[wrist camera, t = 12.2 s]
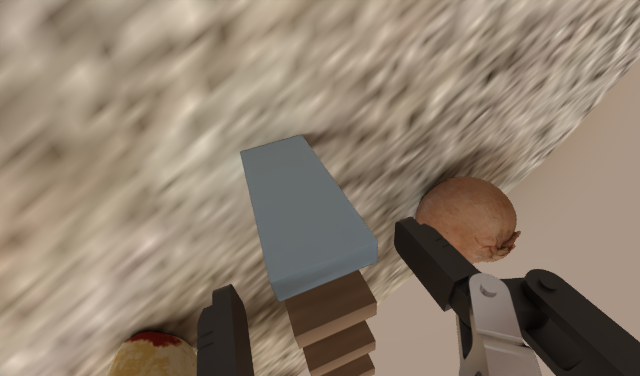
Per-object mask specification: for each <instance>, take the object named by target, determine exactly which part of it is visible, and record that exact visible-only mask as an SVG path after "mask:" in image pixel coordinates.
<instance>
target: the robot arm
mask: <svg viewBox="0 0 640 376" xmlns="http://www.w3.org/2000/svg"><path fill="white" fill-rule="evenodd" d="M394 245H395V248H396V250H397V252H398V254H399V255H400V256H401V257H402V259H403V260H404V261H405V263H406V264H407V265H408V266H409V268H410V269H411V270H412V272H413V273H414V274H415V275H416V277H417V278H418V279H419V280H420V282H421V283H422V284H423V286H424V287H425V288H426V289H427V291H428V292H429V293H430V294H431V296H432V297H433V298H434V300H435V301H436V302H437V303H438V305H439V306H440V307H441V309H442V310H443V311H444V312H445V311H447V310H449V309H451V308H452V309H453V310H454V311H455V313H456V325H457V335H458V344H459V354H460V369H459V376H542V374H541V371H540V368H539V364H538V361H537V358H536V355H535V353H536V354H537V355H538V356H539V357H540V358H541V359H542V360H543V362H544V363H545V364H546V365H547V366H548V367H549V368H550V369H551V371H552V372H553V373H554V374H555V375H556V376H640V342H639V341H638V340H636V339H635V338H634V337H633V336H632V335H630V334H629V333H628V332H627V331H625V330H624V329H623V328H622V327H621V326H619V325H618V324H617V323H615V322H614V321H613V320H612V319H611V318H609V317H608V316H607V315H606V314H604V313H603V312H602V311H601V310H600V309H598V308H597V307H596V306H595V305H593V304H592V303H591V302H590V301H589V300H587V299H586V298H585V297H584V296H583V295H581V294H580V293H579V292H578V291H576V290H575V289H574V288H573V287H572V286H570V285H569V284H568V283H567V282H565V281H564V280H563V279H562V278H560V277H559V276H557V275H556V274H554V273H552V272H549V271H546V270H542V269H533V270H530V271H529V272H528V273H527V274H526V276H525V277H524V278H512V279H498V278H497V277H495V276H493V275H489V274H486V273H482V272H480V271H478V269H476V268H475V267H474V266H473V265H472V264H471V263H470V262H469V261H468V260H467V259H466V258H465V257H464V256H463V255H462V254H461V253H460V252H459V251H458V250H457V249H456V248H455V247H454V246H453V245H451V244H450V243H449V242H448V241H447V240H446V239H444V237H443V236H442V235H441V234H440V233H439V232H438V231H437V230H436V229H435V228H433V227H431V226H429V225H427V224H425V223H424V224H421V225H420V224H419V223H418V222H417V221H416V220H415V219H414V218H413V217H408V218H405V219H403V220H400V221H397V222H396V224H395V236H394ZM212 304H213V305H212V306H210V307H207V308H204V309H203V311H202V314H201V316H200V319H199V321H198V336H197V337H198V340H197V349H198V351H197V376H254V370H253V362H252V355H251V347H250V340H249V332H248V324H247V317H246V311H245V308H244V305H243V302H242V300H241V299H240V297H239V295H238V294H237V292H236V290H235V289H234V287H233V285H232V284H230V285H227V286H224V287H222V288H219V289H217V290H214V291H213V293H212ZM522 338H523V339H524V340H525V341H526V342H527V344H528V345H529V346H530V347H531V348H532V349H533V350H534V351H535V353H534V351H533V350H532V349H531V348H530V347H529V346H526V345H525V344H524V342H523V339H522Z"/></svg>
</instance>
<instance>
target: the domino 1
mask: <svg viewBox="0 0 640 376" xmlns="http://www.w3.org/2000/svg"><path fill="white" fill-rule="evenodd" d="M240 154H241V159H242V163H243V168H244V172H245V176H246V181H247V185H248V189H249V194H250V198H251V203H252V207H253V211H254V216H255V220H256V224H257V229H258V233H259V238H260V242H261V246H262V251H263V255H264V260H265V264H266V268H267V273H268V277H269V281H270V284H271V287H272V289H273V291H274V293H275V295H276V297H277V300H278V302H280V301H283V300H285V299H288V298H290V297H292V296H295V295H297V294H300V293H302V292H305V291H307V290H310V289H312V288H314V287H317V286H319V285H322V284H324V283H327V282H329V281H332V280H334V279H336V278H339V277H341V276H344V275H346V274H349V273H351V272H354V271H356V270H359V269H361V268H363V267H366V266H368V265H371V264H373V263H376V262H377V257H378V240H377V239H376V237H375V236H374V235H373V233H372V232H371V230H370V229H369V228H368V226H367V225H366V223H365V222H364V221H363V219H362V218H361V217H360V215H359V214H358V212H357V211H356V210H355V208H354V207H353V205H352V204H351V203H350V201H349V200H348V198H347V197H346V196H345V194H344V193H343V191H342V190H341V189H340V187H339V186H338V185H337V183H336V182H335V180H334V179H333V178H332V176H331V175H330V173H329V172H328V171H327V169H326V168H325V166H324V165H323V164H322V162H321V161H320V159H319V158H318V157H317V155H316V154H315V152H314V151H313V150H312V148H311V147H310V146H309V144H308V143H307V141H306V140H305V139H304V137H303V136H302V135H298V136H295V137H291V138H288V139H284V140H281V141H277V142H274V143H270V144H267V145H263V146H260V147H256V148H253V149H249V150H246V151H242V152H240Z"/></svg>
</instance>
